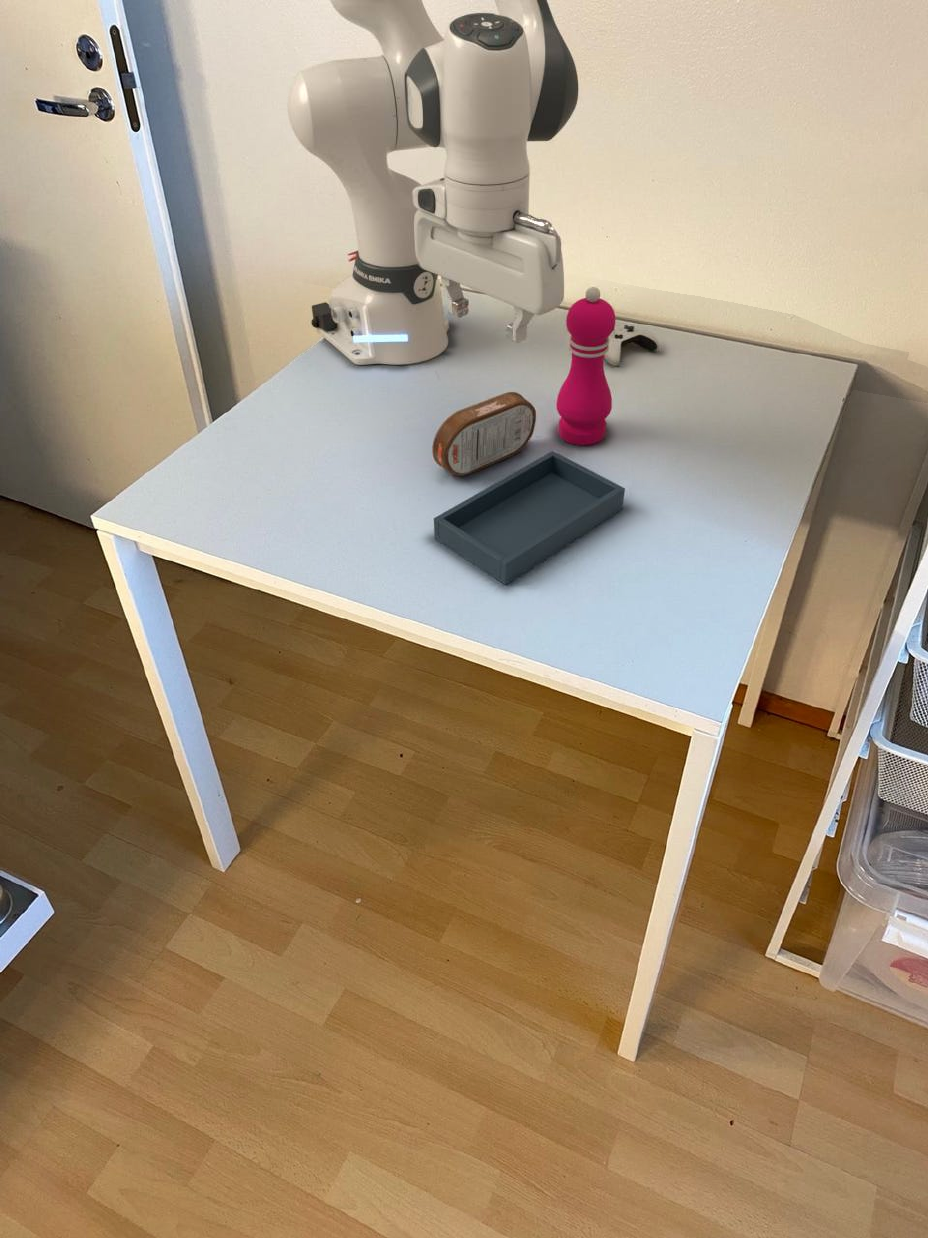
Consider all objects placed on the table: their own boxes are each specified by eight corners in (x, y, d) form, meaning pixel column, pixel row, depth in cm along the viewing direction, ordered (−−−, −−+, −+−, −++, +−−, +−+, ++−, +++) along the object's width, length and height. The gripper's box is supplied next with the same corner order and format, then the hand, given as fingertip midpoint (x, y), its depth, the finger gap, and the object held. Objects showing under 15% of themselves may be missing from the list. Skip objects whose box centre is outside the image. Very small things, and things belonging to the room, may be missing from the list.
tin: (523, 438, 122) (525, 380, 116) (539, 448, 120) (541, 390, 114) (431, 477, 115) (429, 418, 110) (446, 488, 114) (444, 429, 108)
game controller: (617, 364, 134) (599, 327, 134) (597, 378, 139) (580, 342, 139) (663, 345, 138) (646, 309, 138) (642, 359, 143) (626, 324, 143)
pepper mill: (546, 439, 121) (553, 293, 108) (567, 414, 126) (577, 271, 112) (596, 452, 119) (611, 304, 105) (616, 426, 123) (632, 281, 110)
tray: (434, 538, 106) (433, 518, 104) (551, 470, 116) (552, 450, 114) (505, 585, 100) (505, 564, 98) (622, 508, 110) (625, 488, 108)
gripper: (581, 217, 92) (573, 346, 101) (444, 173, 103) (448, 293, 112) (539, 233, 88) (534, 365, 98) (401, 187, 100) (409, 309, 109)
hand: (487, 326), depth 105 cm, fingers open, 8 cm apart
